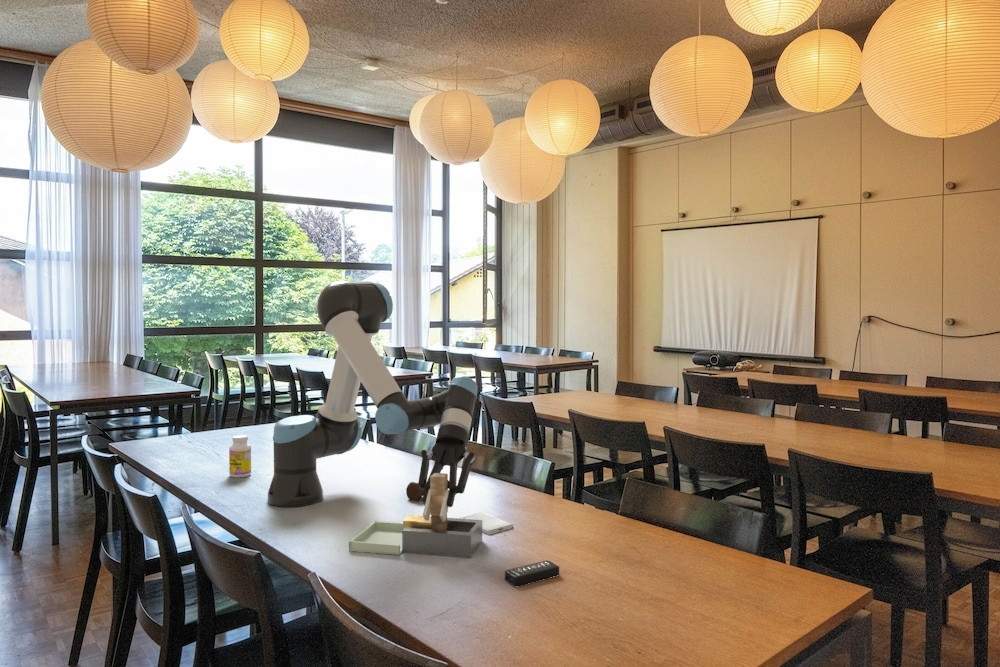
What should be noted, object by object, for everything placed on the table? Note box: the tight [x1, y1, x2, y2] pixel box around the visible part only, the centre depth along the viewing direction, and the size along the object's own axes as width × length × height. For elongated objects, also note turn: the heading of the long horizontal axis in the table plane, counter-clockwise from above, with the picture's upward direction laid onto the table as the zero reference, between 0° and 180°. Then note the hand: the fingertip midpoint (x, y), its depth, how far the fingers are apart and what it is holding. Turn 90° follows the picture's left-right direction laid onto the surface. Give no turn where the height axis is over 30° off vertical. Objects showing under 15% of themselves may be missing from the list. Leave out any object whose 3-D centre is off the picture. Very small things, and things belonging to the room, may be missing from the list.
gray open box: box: [402, 515, 483, 559], centre depth 157 cm, size 16×11×5 cm
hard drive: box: [458, 512, 514, 535], centre depth 173 cm, size 2×8×12 cm
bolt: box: [405, 480, 449, 502], centre depth 200 cm, size 6×5×15 cm
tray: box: [348, 520, 403, 556], centre depth 160 cm, size 12×15×2 cm
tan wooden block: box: [417, 516, 431, 529], centre depth 158 cm, size 4×4×3 cm
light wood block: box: [402, 515, 423, 529], centre depth 159 cm, size 4×4×3 cm
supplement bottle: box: [228, 434, 252, 479], centre depth 221 cm, size 7×7×13 cm
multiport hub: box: [504, 559, 560, 587], centre depth 140 cm, size 4×11×2 cm, turn 122°
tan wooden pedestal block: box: [429, 472, 449, 531], centre depth 157 cm, size 3×4×13 cm
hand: (434, 518), depth 153 cm, fingers closed on tan wooden pedestal block, 3 cm apart
